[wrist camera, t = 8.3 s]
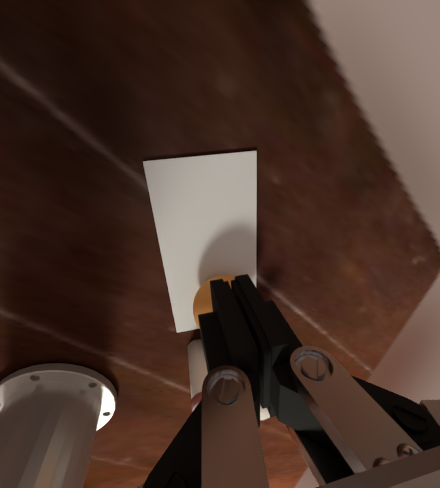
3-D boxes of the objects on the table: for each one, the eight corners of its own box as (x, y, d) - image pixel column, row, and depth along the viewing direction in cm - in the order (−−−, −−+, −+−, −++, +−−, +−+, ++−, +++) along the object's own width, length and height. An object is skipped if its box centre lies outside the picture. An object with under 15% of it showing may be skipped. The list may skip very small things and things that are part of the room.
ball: (270, 333, 19) (254, 262, 22) (193, 346, 19) (186, 271, 21) (258, 338, 25) (247, 280, 27) (199, 348, 24) (192, 288, 27)
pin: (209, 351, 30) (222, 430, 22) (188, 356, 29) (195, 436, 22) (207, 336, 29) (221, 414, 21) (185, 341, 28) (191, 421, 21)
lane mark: (255, 316, 28) (256, 317, 28) (176, 331, 27) (176, 332, 27) (255, 150, 20) (256, 150, 20) (143, 161, 19) (142, 161, 19)
